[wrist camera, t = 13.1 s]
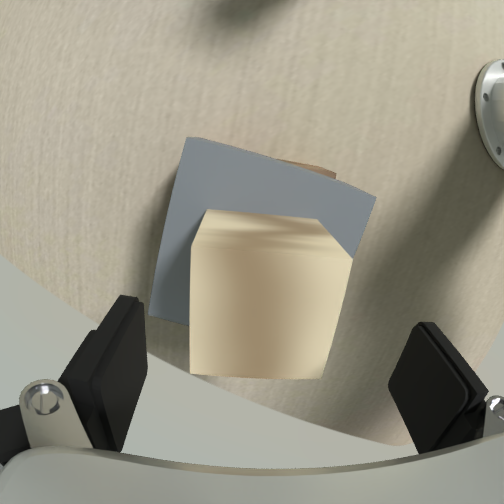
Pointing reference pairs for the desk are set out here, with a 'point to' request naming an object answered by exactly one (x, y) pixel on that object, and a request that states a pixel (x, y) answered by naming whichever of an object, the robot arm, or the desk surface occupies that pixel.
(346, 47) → the desk surface
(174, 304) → the tower upper block
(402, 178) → the desk surface
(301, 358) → the maple block
